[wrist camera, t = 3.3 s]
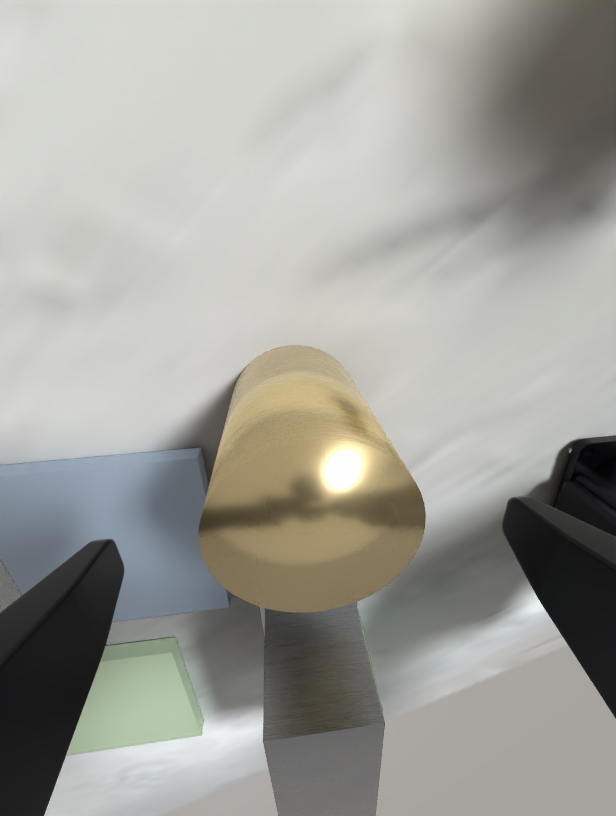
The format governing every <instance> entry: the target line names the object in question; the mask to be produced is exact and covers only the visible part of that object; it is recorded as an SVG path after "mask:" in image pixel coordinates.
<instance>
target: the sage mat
mask: <svg viewBox="0 0 616 816" xmlns="http://www.w3.org/2000/svg"><path fill="white" fill-rule="evenodd" d="M203 722H204V719H203V716H202V714H201V711H200V708H199V705H198V702H197V699H196V696H195V693H194V690H193V687H192V684H191V681H190V678H189V675H188V672H187V669H186V667H185V664H184V661H183V658H182V655H181V652H180V649H179V646H178V643H177V640H176V637H172V638H164V639H157V640H149V641H141V642H133V643H125V644H117V645H110V646H105V649H104V652H103V655H102V658H101V661H100V664H99V667H98V670H97V672H96V675H95V678H94V680H93V683H92V686H91V689H90V691H89V694H88V697H87V700H86V702H85V705H84V708H83V710H82V713H81V716H80V719H79V721H78V724H77V727H76V730H75V732H74V735H73V738H72V740H71V743H70V746H69V749H68V751H67V754H66V755H73V754H80V753H87V752H93V751H100V750H107V749H114V748H120V747H127V746H134V745H141V744H147V743H154V742H161V741H168V740H174V739H181V738H188V737H195V736H201V735H202V729H203Z"/></svg>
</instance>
